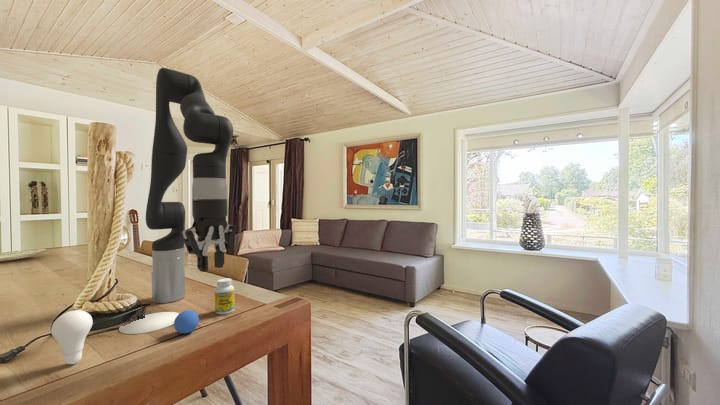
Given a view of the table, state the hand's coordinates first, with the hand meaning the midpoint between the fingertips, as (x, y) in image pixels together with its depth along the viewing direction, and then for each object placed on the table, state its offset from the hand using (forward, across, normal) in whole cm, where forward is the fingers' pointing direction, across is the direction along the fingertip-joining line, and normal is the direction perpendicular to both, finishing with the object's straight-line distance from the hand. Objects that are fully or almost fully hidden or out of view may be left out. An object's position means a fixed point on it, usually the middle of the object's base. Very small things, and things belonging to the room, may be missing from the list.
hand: (211, 268), depth 70 cm
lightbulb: (+17, +19, -18) cm, 31 cm away
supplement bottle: (+17, -14, -12) cm, 26 cm away
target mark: (+17, 0, -24) cm, 30 cm away
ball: (+14, 0, -10) cm, 17 cm away
